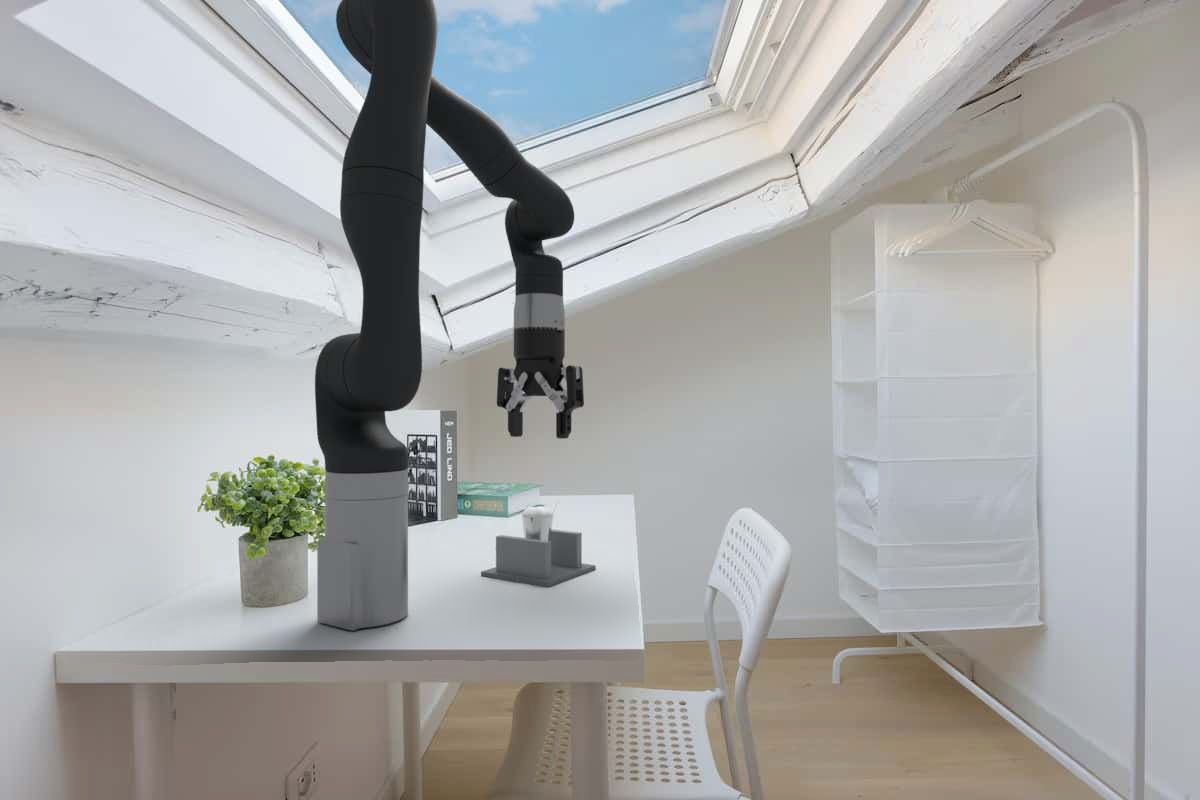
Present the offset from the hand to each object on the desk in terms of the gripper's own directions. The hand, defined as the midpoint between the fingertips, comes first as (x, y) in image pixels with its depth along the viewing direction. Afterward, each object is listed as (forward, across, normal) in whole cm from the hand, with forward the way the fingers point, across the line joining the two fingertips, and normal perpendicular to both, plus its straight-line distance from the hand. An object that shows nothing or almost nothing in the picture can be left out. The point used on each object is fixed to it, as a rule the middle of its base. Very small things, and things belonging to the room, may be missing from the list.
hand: (539, 437), depth 105 cm
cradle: (+20, 0, 0) cm, 20 cm away
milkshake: (+20, 0, 0) cm, 20 cm away
